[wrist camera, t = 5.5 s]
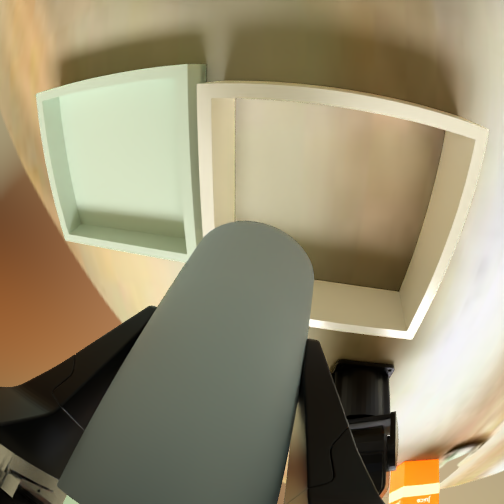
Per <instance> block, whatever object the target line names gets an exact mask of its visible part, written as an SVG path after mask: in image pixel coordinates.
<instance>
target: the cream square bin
mask: <svg viewBox="0 0 504 504" xmlns="http://www.w3.org/2000/svg"><path fill="white" fill-rule="evenodd" d="M235 98H241V99H264V100H279V101H292V102H302V103H311V104H320V105H328V106H335V107H342V108H348V109H354V110H360V111H366V112H371V113H377V114H382V115H387V116H391V117H396V118H400V119H405V120H409V121H413V122H417V123H421V124H425V125H429V126H432V127H436V128H439V129H443V130H446V132H445V137H444V142H443V147H442V152H441V157H440V162H439V166H438V170H437V175H436V179H435V183H434V187H433V191H432V194H431V198H430V202H429V205H428V209H427V212H426V216H425V219H424V222H423V226H422V229H421V232H420V235H419V238H418V241H417V244H416V247H415V250H414V253H413V256H412V259H411V262H410V264H409V267H408V270H407V272H406V275H405V278H404V280H403V283H402V285H401V288H400V290H399V292H397V291H390V290H383V289H376V288H369V287H362V286H355V285H348V284H341V283H334V282H327V281H321V280H314V286H313V295H312V304H311V313H310V321H309V327H314V328H321V329H328V330H335V331H343V332H350V333H358V334H366V335H375V336H384V337H393V338H403V339H413V337H414V335H415V333H416V332H417V330H418V328H419V326H420V324H421V322H422V320H423V318H424V317H425V315H426V313H427V311H428V309H429V307H430V305H431V303H432V301H433V299H434V296H435V294H436V292H437V290H438V288H439V286H440V284H441V281H442V279H443V277H444V275H445V272H446V270H447V268H448V265H449V263H450V261H451V258H452V256H453V253H454V251H455V248H456V246H457V243H458V240H459V238H460V235H461V232H462V230H463V227H464V224H465V221H466V218H467V215H468V212H469V209H470V206H471V203H472V200H473V196H474V193H475V189H476V186H477V182H478V179H479V175H480V171H481V167H482V163H483V159H484V155H485V150H486V146H487V141H488V136H489V131H490V130H488V129H486V128H484V127H482V126H480V125H478V124H476V123H473V122H471V121H469V120H467V119H464V118H462V117H460V116H457V115H454V114H451V113H447V112H444V111H441V110H437V109H434V108H430V107H427V106H423V105H419V104H415V103H411V102H407V101H403V100H399V99H395V98H390V97H385V96H381V95H376V94H370V93H365V92H359V91H353V90H347V89H340V88H333V87H326V86H317V85H308V84H298V83H285V82H269V81H215V82H207V83H200V84H197V127H198V156H199V179H200V198H201V214H202V230H203V237H204V236H205V235H206V234H207V233H209V232H210V231H211V230H213V229H214V228H216V227H218V226H221V225H223V224H227V223H230V222H235Z"/></svg>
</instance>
